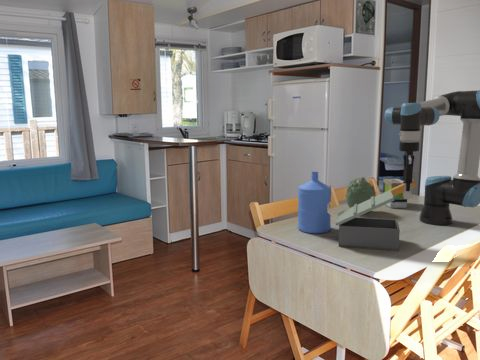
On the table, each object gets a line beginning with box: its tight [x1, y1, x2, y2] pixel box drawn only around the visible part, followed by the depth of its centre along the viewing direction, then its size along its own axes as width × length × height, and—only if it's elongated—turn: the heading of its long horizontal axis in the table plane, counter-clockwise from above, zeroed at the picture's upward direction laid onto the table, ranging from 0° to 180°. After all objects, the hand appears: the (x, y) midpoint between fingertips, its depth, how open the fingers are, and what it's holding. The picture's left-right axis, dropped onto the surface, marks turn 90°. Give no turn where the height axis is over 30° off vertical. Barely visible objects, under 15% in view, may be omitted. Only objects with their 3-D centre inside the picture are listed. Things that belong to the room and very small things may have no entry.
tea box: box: [382, 178, 408, 209], centre depth 251 cm, size 15×10×15 cm, turn 179°
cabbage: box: [345, 176, 376, 208], centre depth 234 cm, size 16×19×20 cm
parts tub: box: [338, 216, 401, 252], centre depth 185 cm, size 24×16×9 cm, turn 74°
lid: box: [335, 178, 417, 226], centre depth 182 cm, size 36×17×3 cm, turn 73°
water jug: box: [297, 171, 332, 234], centre depth 204 cm, size 16×16×28 cm
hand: (406, 197), depth 178 cm, fingers closed on lid, 3 cm apart
